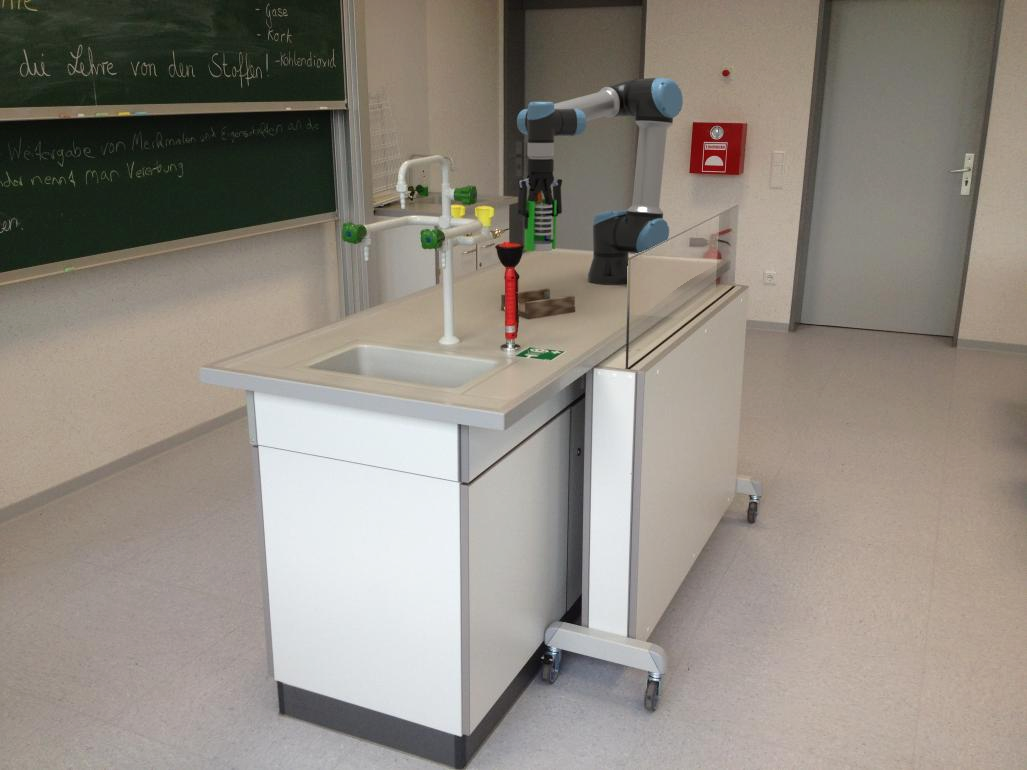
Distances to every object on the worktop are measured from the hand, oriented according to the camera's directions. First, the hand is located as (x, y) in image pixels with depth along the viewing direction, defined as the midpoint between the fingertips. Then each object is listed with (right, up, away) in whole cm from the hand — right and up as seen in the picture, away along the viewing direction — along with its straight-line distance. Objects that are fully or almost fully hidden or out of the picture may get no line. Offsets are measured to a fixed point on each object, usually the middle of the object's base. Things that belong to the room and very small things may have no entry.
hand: (539, 239), depth 282 cm
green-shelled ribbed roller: (0, -3, +1) cm, 3 cm away
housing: (0, -21, +1) cm, 21 cm away
